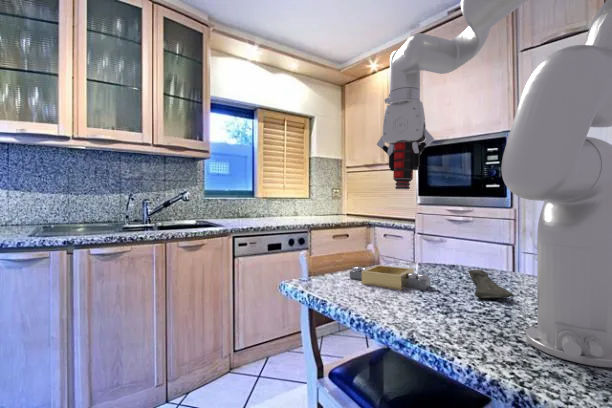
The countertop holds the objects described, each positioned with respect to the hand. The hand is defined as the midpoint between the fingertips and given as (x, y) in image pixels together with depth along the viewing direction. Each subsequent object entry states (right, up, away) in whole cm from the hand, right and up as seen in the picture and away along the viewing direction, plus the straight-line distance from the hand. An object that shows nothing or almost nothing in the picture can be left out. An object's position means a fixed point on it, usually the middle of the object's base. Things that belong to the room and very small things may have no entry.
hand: (404, 169), depth 85 cm
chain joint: (-3, -30, +3) cm, 30 cm away
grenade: (-1, -5, +1) cm, 5 cm away
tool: (+22, -31, -3) cm, 38 cm away
